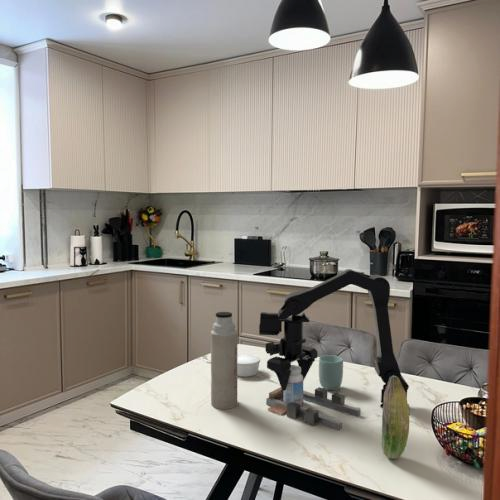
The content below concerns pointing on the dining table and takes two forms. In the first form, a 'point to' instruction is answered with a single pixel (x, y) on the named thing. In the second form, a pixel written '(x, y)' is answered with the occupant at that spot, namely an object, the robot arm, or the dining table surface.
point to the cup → (330, 371)
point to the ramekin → (247, 365)
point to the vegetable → (394, 419)
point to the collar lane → (311, 414)
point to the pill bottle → (294, 386)
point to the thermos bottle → (224, 362)
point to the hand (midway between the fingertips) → (292, 385)
